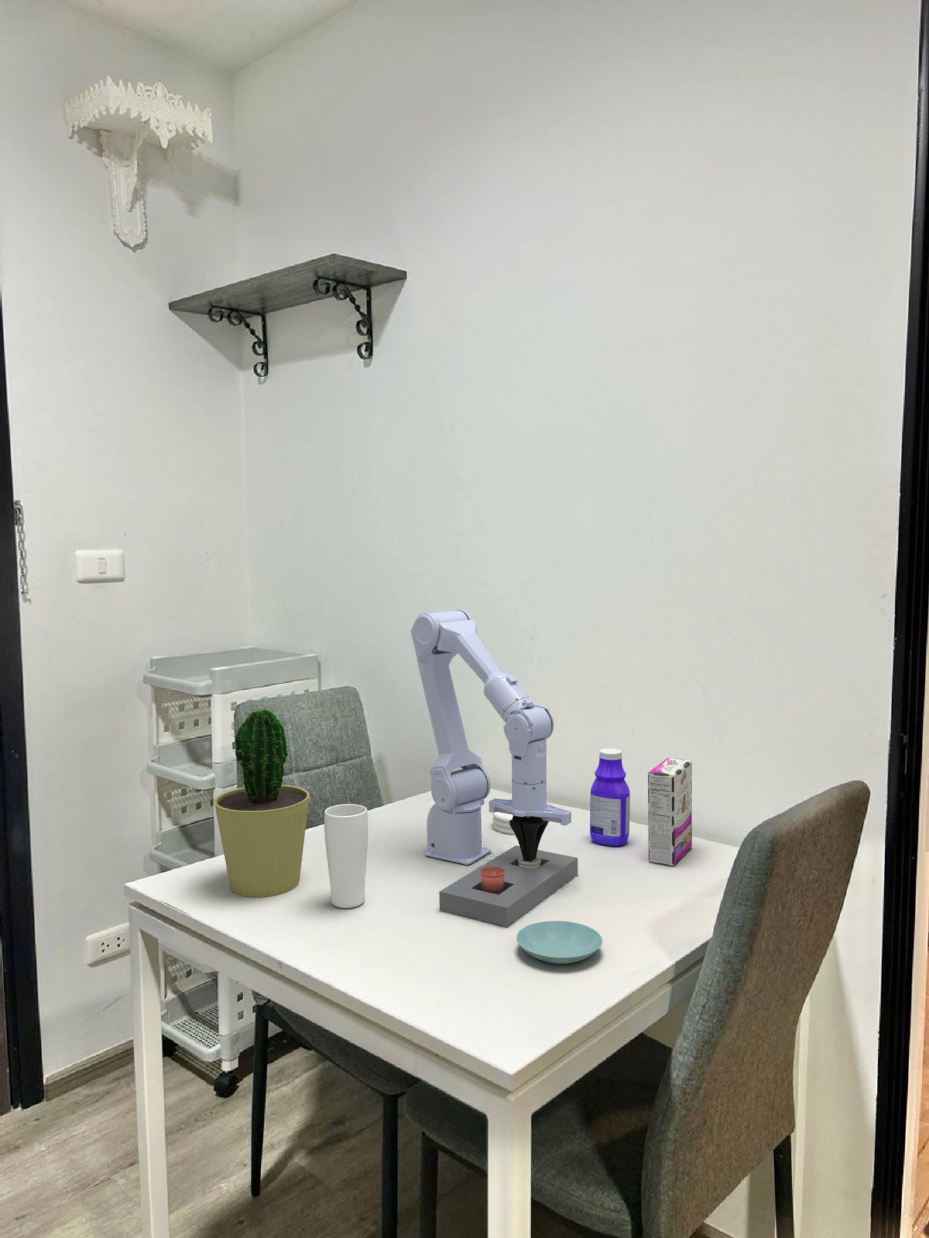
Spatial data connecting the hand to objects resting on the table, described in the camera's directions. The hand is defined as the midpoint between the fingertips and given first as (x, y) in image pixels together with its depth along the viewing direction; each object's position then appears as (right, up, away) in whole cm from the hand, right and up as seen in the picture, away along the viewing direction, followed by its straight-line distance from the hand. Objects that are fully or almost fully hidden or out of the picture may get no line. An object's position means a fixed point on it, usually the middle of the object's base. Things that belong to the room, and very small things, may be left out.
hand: (529, 859), depth 153 cm
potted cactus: (-44, -4, 0) cm, 44 cm away
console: (-3, -4, -5) cm, 7 cm away
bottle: (+16, -2, +18) cm, 25 cm away
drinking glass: (-29, -5, -8) cm, 31 cm away
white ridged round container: (0, -1, +28) cm, 28 cm away
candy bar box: (+26, -2, +11) cm, 28 cm away
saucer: (+2, -6, -26) cm, 27 cm away
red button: (-6, -2, -10) cm, 12 cm away
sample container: (0, -3, 0) cm, 3 cm away
